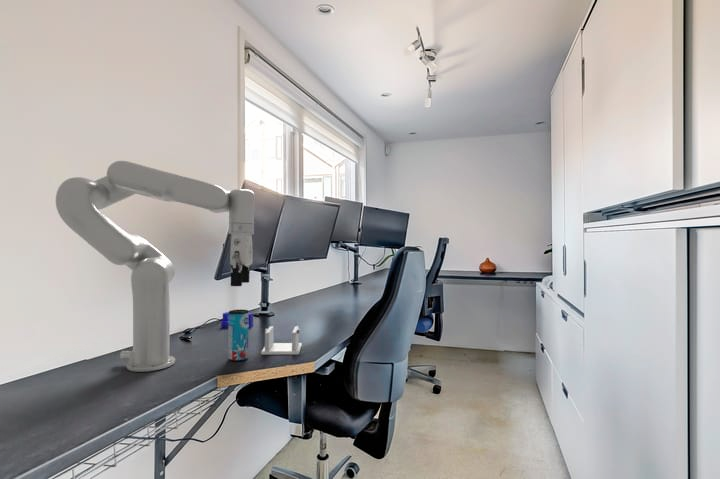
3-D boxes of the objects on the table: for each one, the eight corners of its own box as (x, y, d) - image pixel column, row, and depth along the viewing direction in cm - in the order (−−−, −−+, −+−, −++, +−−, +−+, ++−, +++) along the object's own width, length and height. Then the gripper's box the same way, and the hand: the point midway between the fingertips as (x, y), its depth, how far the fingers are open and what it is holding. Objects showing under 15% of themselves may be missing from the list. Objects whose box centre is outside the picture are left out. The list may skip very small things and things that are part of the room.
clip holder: (261, 354, 127) (261, 332, 127) (267, 345, 137) (267, 325, 137) (298, 354, 127) (298, 332, 127) (301, 345, 137) (301, 325, 137)
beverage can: (240, 363, 118) (241, 313, 118) (224, 361, 119) (224, 312, 119) (252, 357, 123) (252, 310, 123) (236, 355, 125) (236, 308, 125)
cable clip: (221, 328, 163) (221, 314, 163) (225, 326, 167) (225, 312, 167) (249, 329, 162) (249, 314, 162) (253, 326, 166) (253, 312, 166)
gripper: (247, 229, 114) (246, 287, 114) (259, 230, 131) (258, 281, 131) (220, 228, 113) (219, 287, 113) (236, 229, 131) (235, 281, 131)
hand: (240, 284), depth 122 cm, fingers open, 9 cm apart
